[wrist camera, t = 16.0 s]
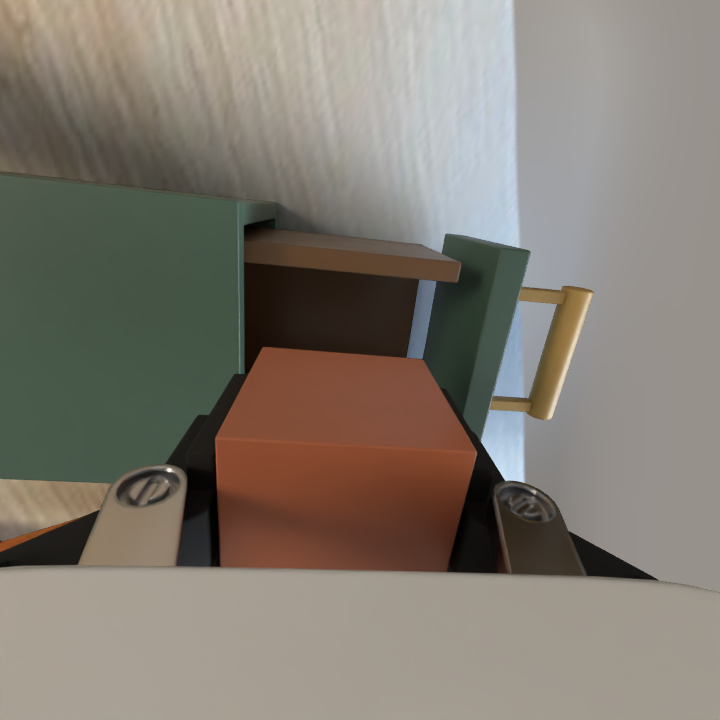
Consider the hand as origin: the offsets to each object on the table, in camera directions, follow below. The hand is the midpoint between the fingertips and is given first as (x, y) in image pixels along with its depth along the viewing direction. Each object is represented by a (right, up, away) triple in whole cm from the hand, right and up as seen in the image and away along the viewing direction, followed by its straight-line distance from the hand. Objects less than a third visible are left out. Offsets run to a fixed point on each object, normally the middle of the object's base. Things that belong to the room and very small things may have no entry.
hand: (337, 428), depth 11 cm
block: (0, 0, 0) cm, 0 cm away
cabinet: (-12, +6, +11) cm, 17 cm away
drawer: (+2, +5, +12) cm, 13 cm away
